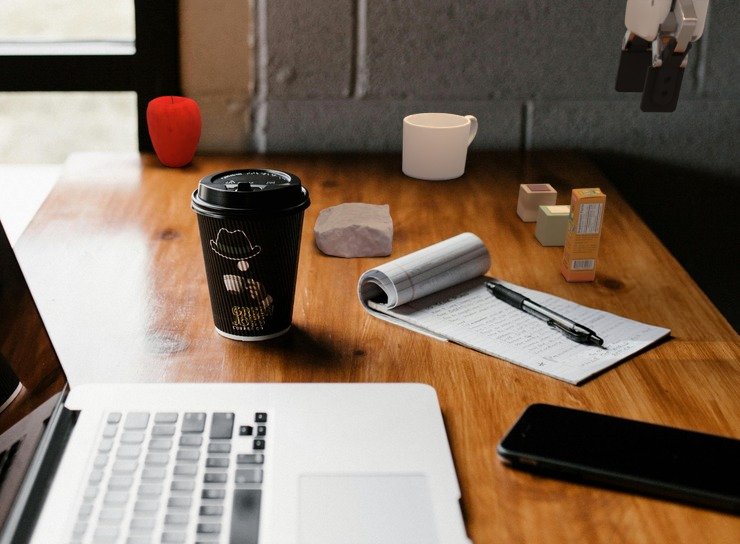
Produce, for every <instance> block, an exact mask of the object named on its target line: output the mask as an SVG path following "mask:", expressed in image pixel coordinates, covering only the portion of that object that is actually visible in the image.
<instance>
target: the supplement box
mask: <svg viewBox="0 0 740 544" xmlns="http://www.w3.org/2000/svg"><path fill="white" fill-rule="evenodd" d="M606 203H607V195H606V194H605V193H603V192H602V190H601V189H600V187H592V188H591V187H589V188H574V189H572V190H571V198H570V204H569V205H570V212H569V219H568V226H567V234H566V241H565V246H564V249H563V255H562V256H563V257H562V263H561V269H560V273H561V275H562V276H563V278H565V281H566V282H570V283H571V282H578V283H579V282H594V280H595V276H596V269H597V263H598V258H599V257H598V256H599V249H600V245H601V244H600V242H601V237H602V229H603V222H604V215H605V209H606Z"/></svg>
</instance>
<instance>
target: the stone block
mask: <svg viewBox="0 0 740 544" xmlns="http://www.w3.org/2000/svg"><path fill="white" fill-rule="evenodd" d="M313 234H314V239H315V242H316V245H317V248H318V249H319V250H320V251H321V252H322V253H324V254H325V255H329V256H335V257H342V258H346V259H347V258H348V259H349V258H350V259H351V258H363V257H364V258H365V257H370V258H371V257H389V256H390V255H391V254H392V251H393V241H394V240H393V239H394V222H393V218H392V216H391V214H390V205H389V204H388V203H387V204H386V203H385V204H380V205H379V204H374V203H373V204H372V203H364V202H344V203H341V204H338V205H336V206H335V205H333V206H332V205H331V206H329V207H326V208H324V209H322V210H320V211H319V213H318V216H317V218H316V220H315V224H314V228H313Z"/></svg>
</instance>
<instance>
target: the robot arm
mask: <svg viewBox="0 0 740 544" xmlns="http://www.w3.org/2000/svg"><path fill="white" fill-rule="evenodd" d="M709 2H710V0H626V7H625V15H624V26H625V29H626V32H625V34H624V36H623V38H622V44H621V50H620V55H619V61H618V66H617V71H616V76H615V82H614V90H615V92H617V93H642V94H641V99H640V105H639V110H640V111H641V112H642V113H667V114H668V113H669V114H671V113H674V112H675V111H676V110H677V108H678V107H677V106H678V103H679V97H680V93H681V89H682V84H683V79H684V75H685V71H686V67H687V65H688V63H689V62H688V61H689V52H690V50H691V49H692V47H693V44H692V42H693V43H694V42H696V41H697V40H699V39H700V38H701V37H702V35H703V33H704V30H705V29H704V28H705V25H706V20H707V19H706V18H707V13H708V12H707V11H708V8H709ZM664 45H665V46H664Z"/></svg>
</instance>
